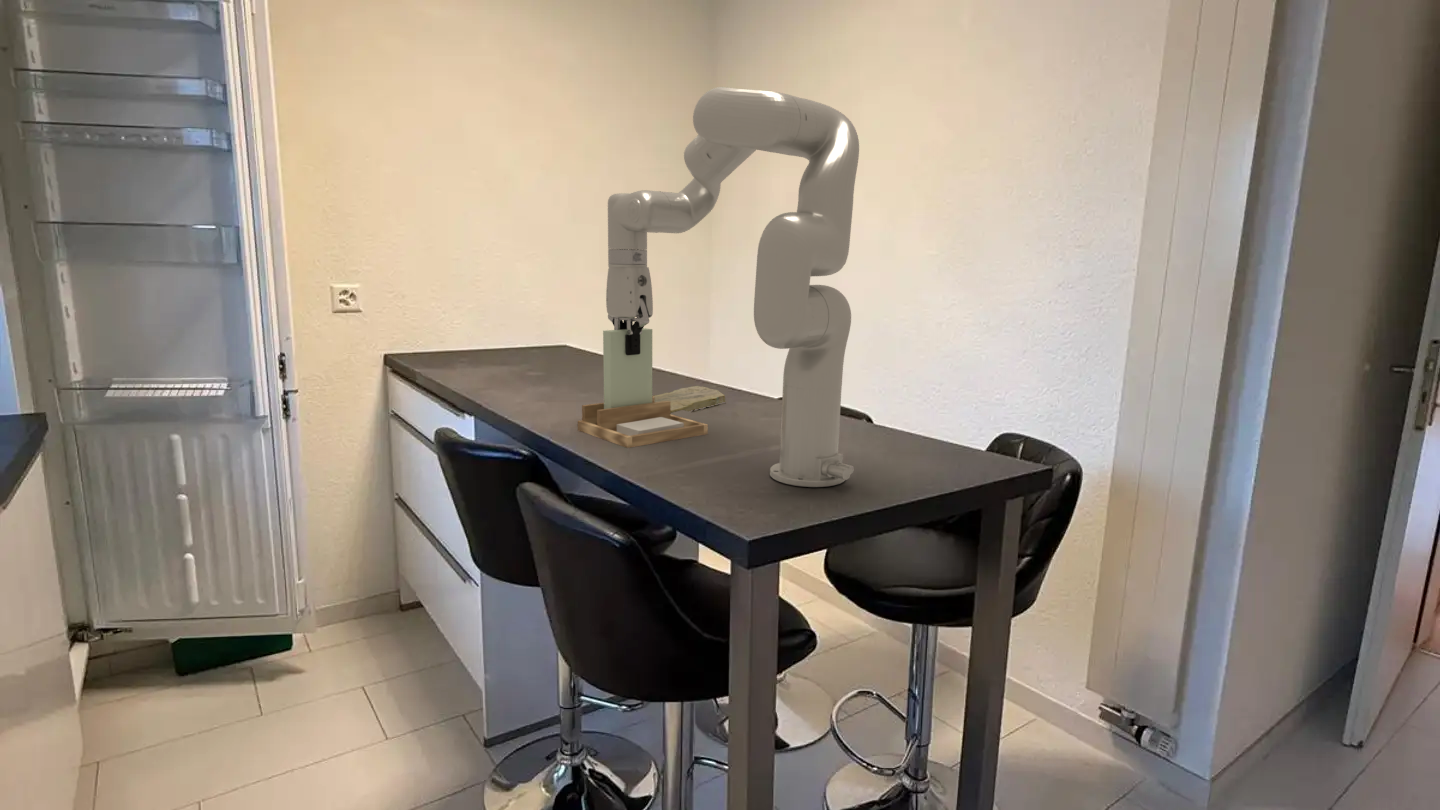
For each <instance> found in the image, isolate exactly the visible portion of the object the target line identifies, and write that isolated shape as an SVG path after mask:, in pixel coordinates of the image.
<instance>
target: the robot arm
mask: <svg viewBox="0 0 1440 810" xmlns="http://www.w3.org/2000/svg"><path fill="white" fill-rule="evenodd" d="M692 121H693V122H692V123H693V127H694V130H695V131H696V133H697V136H695V137H694V138H693V140H691V141H690V142H689V144H687V145H686V147H685V148H684V152H683V160H684V163H685V166H686V168H687V171H689V174H690V175H691V176H692V177H693V179H692V180H691V181H689V183H688V184H686V186H685V187H683V188H682V189H681V190H680V191H679V192H670V191H660V190H658V191H657V190H647V189H646V190H643V189H642V190H636V191H633V192H630V193H629V192H628V193H627V192H626V193H625V192H624V193H622V192H621V193H613V194H611V195H610V196H609V197H608V199H607V253H608V254H607V257H608V258H607V261H608V262H607V266H608V269H607V279H606V289H605V290H606V291H605V292H606V293H605V299H606V300H605V302H606V303H605V306H606V313H607V319H608V320H609V321H610V322H611V323H612V325H613V327H614V329H613V330H623V329H627V333H628V335H625V353H626V355H638V354H640V334H642V329H643V328H644V327H645V326H646V325H648V324H649V323H650V318H651V317H652V316H653V314H654V307H653V306H654V301H653V286H652V278H651V272H650V268H649V267H648V233H653V234H655V233H656V234H657V233H658V234H659V233H662V234H683V233H686V232H688V231H690V230H691V229H692V228H694V227H695V226H696V225H698V224H699V223H701V221H702V220H704V218H706V217H707V216H708V215H709V214H710V213H711V211H713V209H714V207H715V205H716V204H717V202H718V198H719V195H720V193H721V183H723V182H724V180H726V179H727V178H728V177H729V176H730V175H731V174H732V173H733V172H734V171H735V170H736V169H737V168H738V167H739V166H741V165H742V164H743V163H744V162H745V161H746V160H748V158H750V156H752V155H753V154H754V152H756V151H763V152H768V153H774V154H780V155H787V156H794V157H799V158H804V159H806V160H807V161H808V164H807V165H806V168H805V170H804V171H803V174H802V176H801V178H800V182H799V185H798V186H799V187H798V194H797V195H798V197H797V198H798V199H797V200H798V201H797V209H796V211H794V212H793V211H790V212H784V213H780V214H778V215H777V216H775V217H774V218H772V219H771V220H770V221H769V222H768V223H767V224H766V226H765V228H764V229H763V231H762V234H761V235H760V238H759V242H758V247H757V255H756V266H755V267H756V268H755V282H754V283H755V285H754V299H753V322H754V326H755V331H756V332H757V335H758V336H759V338H760V340H761V341H762V342H764V344H766V345H768V346H769V347H771V348H774V349H780V350H781V349H782V350H785V349H787V350H788V352H787V354H786V358H785V361H784V368H783V374H782V375H783V377H782V379H783V380H782V398H781V403H782V404H781V419H780V421H781V425H780V426H781V427H780V449H779V462H777V463H774V464H773V465H772V466H770V468H769V476H770V478H771V479H773V480H775V481H777V482H779V483H781V484H786V485H790V486H796V487H805V488H806V487H808V488H824V487H833V486H838V485H841V484H842V483H844V482H845V481H848V480H849V479H850V477H851V475H852V474H853V473H854V472H855V471H854V470H855V468H854V466H853V465H851V464H847V463H844V462H843V459H844V454H843V453H840V452H839V444H840V443H839V440H840V439H839V438H840V422H841V403H842V389H843V388H842V387H843V386H842V385H843V374H844V373H843V372H844V362H845V361H844V360H845V353H846V347H847V344H848V339H849V335H850V331H851V326H852V325H851V324H852V310H851V306H850V304H849V301H848V299H847V297H846V296H845V295H844V294H843V293H842V292H841V291H840V290H838V289H837V288H834V286H829V285H826V284H810V283H811V278H812V277H826V276H831V275H834V274H837V273H838V272H840V271H841V270H842V269H843V268H844V267H845V264H846V263H847V261H848V257H849V252H850V244H851V243H850V242H851V240H850V239H851V230H852V223H853V221H852V219H853V210H854V209H853V208H854V193H855V185H856V184H855V183H856V177H857V170H858V163H859V157H860V141H859V135H858V133H857V130H856V127H855V126H854V124H853V122H852V121H851V120H850V119H849V118H848V117H847V116H846V115H845V114H844V113H843V112H842V111H841V112H840V111H839V110H838V109H836V108H834V107H832V106H830V105H827V104H824V103H821V102H818V101H815V100H811V99H808V98H802V97H798V96H795V95H791V94H787V93H783V92H778V91H771V90H760V89H748V88H747V89H746V88H737V87H736V88H735V87H728V86H727V87H725V86H717V87H714V88H711V89H710V90H707V91H706V92H704V94H702V96H701V97H700V98H699V99H698V100H697V102H696V104H695V107H694V110H693V115H692Z"/></svg>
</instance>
